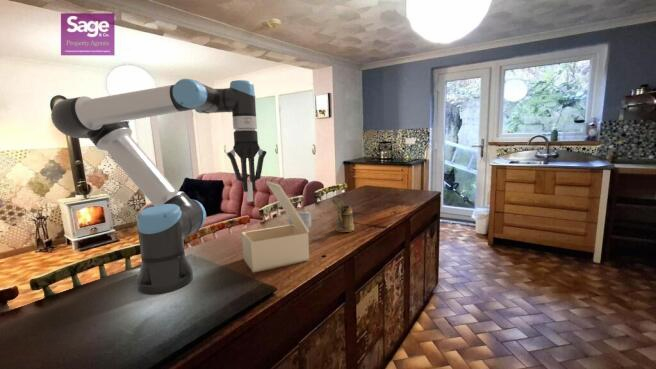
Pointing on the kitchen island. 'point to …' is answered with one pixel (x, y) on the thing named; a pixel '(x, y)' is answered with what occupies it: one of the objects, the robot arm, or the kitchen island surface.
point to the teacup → (305, 217)
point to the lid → (287, 205)
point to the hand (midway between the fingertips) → (250, 200)
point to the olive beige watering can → (343, 216)
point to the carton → (275, 247)
